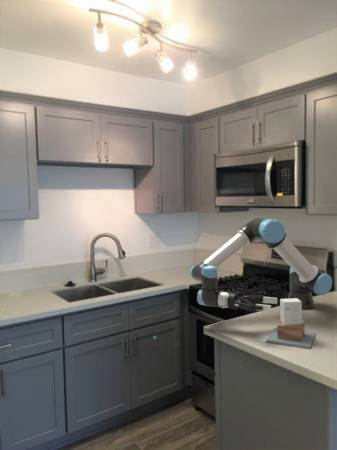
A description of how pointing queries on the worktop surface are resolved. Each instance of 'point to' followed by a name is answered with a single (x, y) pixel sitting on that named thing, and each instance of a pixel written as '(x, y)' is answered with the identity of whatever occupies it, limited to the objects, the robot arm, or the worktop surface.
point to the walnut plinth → (291, 331)
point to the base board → (304, 343)
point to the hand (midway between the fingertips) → (274, 304)
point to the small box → (291, 311)
